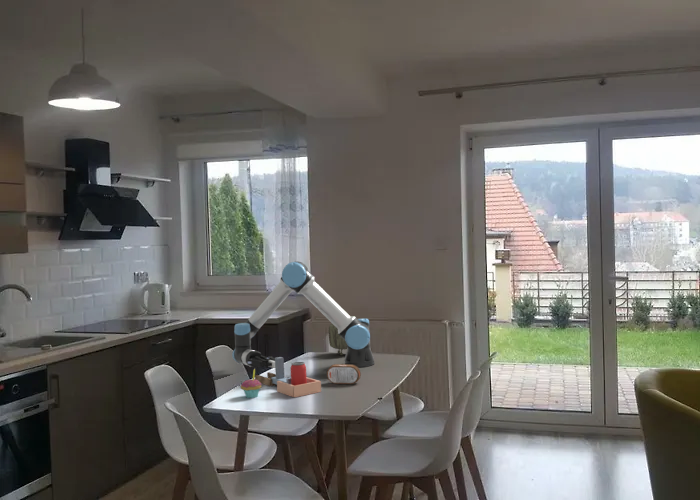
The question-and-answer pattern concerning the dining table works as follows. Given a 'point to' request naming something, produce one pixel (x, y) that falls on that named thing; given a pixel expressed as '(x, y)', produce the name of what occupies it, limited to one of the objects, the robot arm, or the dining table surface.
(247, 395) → the cupcake
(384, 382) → the dining table surface
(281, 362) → the grey post stand
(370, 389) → the dining table surface
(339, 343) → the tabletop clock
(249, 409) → the dining table surface
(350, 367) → the tin
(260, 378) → the launcher rail
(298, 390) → the cup corral
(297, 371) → the beer can
